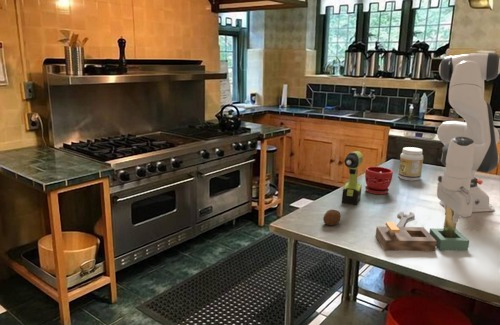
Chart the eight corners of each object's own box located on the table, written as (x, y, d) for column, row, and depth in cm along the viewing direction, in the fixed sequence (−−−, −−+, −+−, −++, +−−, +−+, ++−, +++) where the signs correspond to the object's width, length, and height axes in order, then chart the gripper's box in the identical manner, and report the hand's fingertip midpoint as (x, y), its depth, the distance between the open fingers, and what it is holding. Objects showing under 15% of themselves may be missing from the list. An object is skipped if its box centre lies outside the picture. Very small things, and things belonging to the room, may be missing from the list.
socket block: (422, 236, 157) (423, 227, 156) (435, 251, 145) (436, 241, 144) (375, 235, 158) (376, 226, 156) (384, 250, 146) (385, 240, 145)
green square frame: (455, 238, 156) (456, 228, 155) (467, 250, 146) (469, 240, 145) (428, 238, 156) (430, 228, 155) (439, 250, 146) (441, 240, 145)
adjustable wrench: (398, 237, 158) (399, 233, 157) (382, 233, 161) (382, 229, 161) (415, 216, 177) (416, 213, 177) (400, 213, 181) (401, 209, 180)
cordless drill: (352, 213, 180) (356, 158, 173) (336, 210, 183) (339, 156, 176) (361, 197, 200) (365, 147, 194) (347, 194, 203) (350, 146, 196)
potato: (343, 221, 171) (344, 207, 169) (335, 229, 163) (336, 215, 161) (328, 218, 174) (329, 204, 173) (320, 226, 166) (321, 212, 165)
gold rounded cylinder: (451, 234, 152) (455, 204, 149) (456, 239, 148) (461, 208, 145) (440, 234, 152) (444, 204, 149) (445, 239, 148) (449, 208, 145)
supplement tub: (394, 175, 237) (397, 146, 233) (414, 174, 238) (417, 146, 234) (404, 181, 225) (407, 151, 221) (424, 180, 227) (428, 151, 222)
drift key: (392, 237, 155) (393, 222, 153) (398, 245, 148) (399, 229, 146) (384, 236, 155) (385, 221, 153) (389, 245, 148) (391, 229, 146)
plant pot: (387, 197, 200) (390, 174, 197) (361, 193, 206) (362, 170, 203) (393, 190, 211) (395, 168, 208) (367, 186, 217) (369, 164, 214)
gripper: (480, 192, 135) (474, 231, 138) (452, 174, 155) (447, 208, 158) (461, 192, 135) (455, 230, 139) (435, 174, 155) (431, 208, 158)
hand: (451, 218), depth 148 cm, fingers closed on gold rounded cylinder, 4 cm apart
